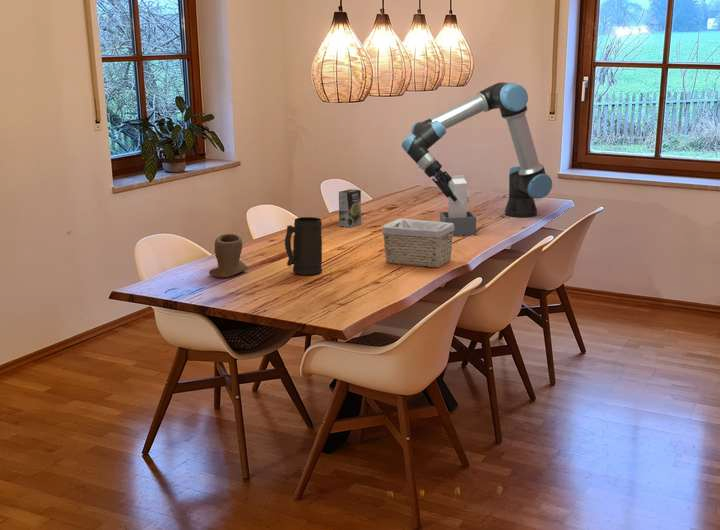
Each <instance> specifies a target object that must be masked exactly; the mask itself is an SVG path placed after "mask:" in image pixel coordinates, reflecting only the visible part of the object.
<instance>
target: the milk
mask: <svg viewBox="0 0 720 530" xmlns="http://www.w3.org/2000/svg"><path fill="white" fill-rule="evenodd" d="M451 177H452V179H451V180H450V181H449V187H450V189H451V190H452V192H453V193H455V194H456V195H457V196H458V197H459V198H460V199H461V201H462V202H463V203H464V204H463V205H462V206H461V207H460V208H459V207H458V206H457V205H456V204H455V203H454V202H453V200H452V199H451V198H450V196H449V197H448V198H447V199H448V202H447V203H448V205H447V207H448V208H447V212H448V218H459V217H467V210H468V207H467V206H468V203H467V197H468V182H467V181H466V179H465V175H464V174H459V175H457V174H456V175H451ZM453 193H452V194H453Z"/></svg>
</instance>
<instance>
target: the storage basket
mask: <svg viewBox="0 0 720 530" xmlns="http://www.w3.org/2000/svg"><path fill="white" fill-rule="evenodd" d="M453 231H454V224H453V223H445V222H440V221H431V220H430V221H429V220H421V219H420V220H419V219H410V218H397V219H396V220H393V221H391V222H388V223H386V224H385V225H382V230H381V233H382V234H383V242H384V245H383V247H384V252H385V255H384V257H385V262H386V263H389V264H392V265H394V264H396V265H405V266H416V267H425V266H427V267H429V268H439V267H441V266H443V265H445V264H446V263H448V262H449V261H450V260H451V259H452V250H453V237H454V236H453ZM444 263H445V264H444ZM427 267H426V268H427Z"/></svg>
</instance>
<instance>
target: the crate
mask: <svg viewBox="0 0 720 530" xmlns="http://www.w3.org/2000/svg"><path fill="white" fill-rule="evenodd" d="M439 218H440V219H439V222H445V223H453V224H454V231H453V237H461V236H460V235H476V236H477V217H476V215H475V214H474V213H473V212H472V211H471V210H468V211H467V217H459V218H448V211H440V212H439Z"/></svg>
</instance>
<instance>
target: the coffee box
mask: <svg viewBox="0 0 720 530" xmlns="http://www.w3.org/2000/svg"><path fill="white" fill-rule="evenodd" d="M361 192H362V190H361V189H351V188H349V189H346V190H341V191H338V226H339V227H342V226H344V227H343V228H348V227H350V228H354V227H356V225H357V226H361V225H362V195H361V194H362V193H361ZM360 224H361V225H360ZM353 226H354V227H353Z"/></svg>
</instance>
